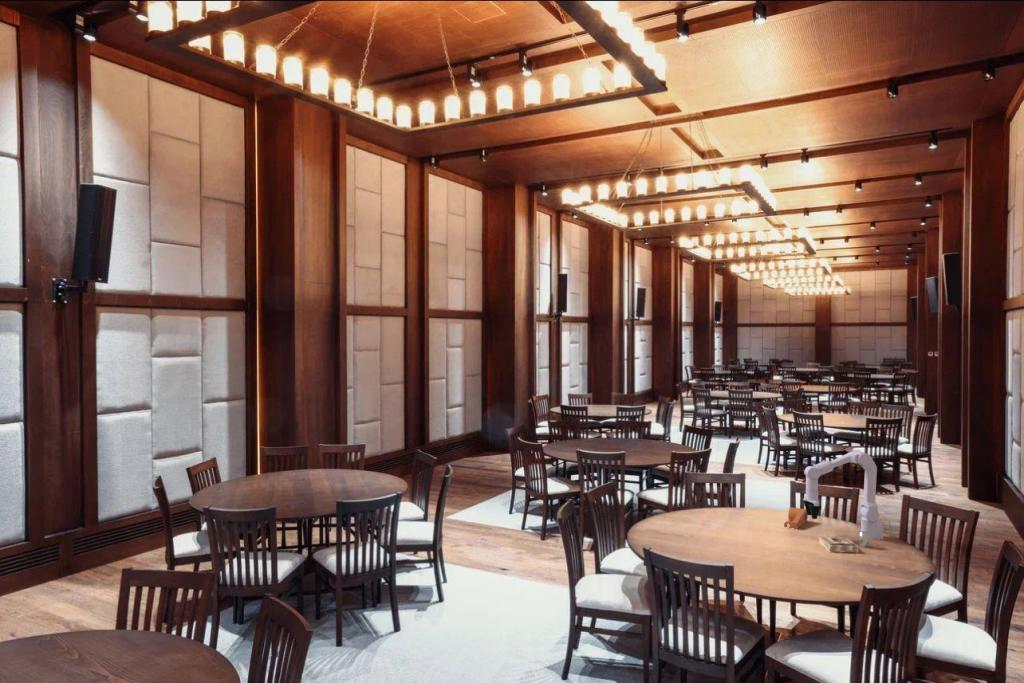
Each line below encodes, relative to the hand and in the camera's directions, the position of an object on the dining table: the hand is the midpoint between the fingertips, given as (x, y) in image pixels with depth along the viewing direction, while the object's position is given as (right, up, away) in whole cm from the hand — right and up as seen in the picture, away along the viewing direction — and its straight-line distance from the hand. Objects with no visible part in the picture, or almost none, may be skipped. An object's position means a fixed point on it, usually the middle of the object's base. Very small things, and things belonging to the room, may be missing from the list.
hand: (811, 516), depth 351 cm
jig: (+4, -10, -19) cm, 22 cm away
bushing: (+17, -10, -18) cm, 27 cm away
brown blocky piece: (0, -10, +22) cm, 24 cm away
